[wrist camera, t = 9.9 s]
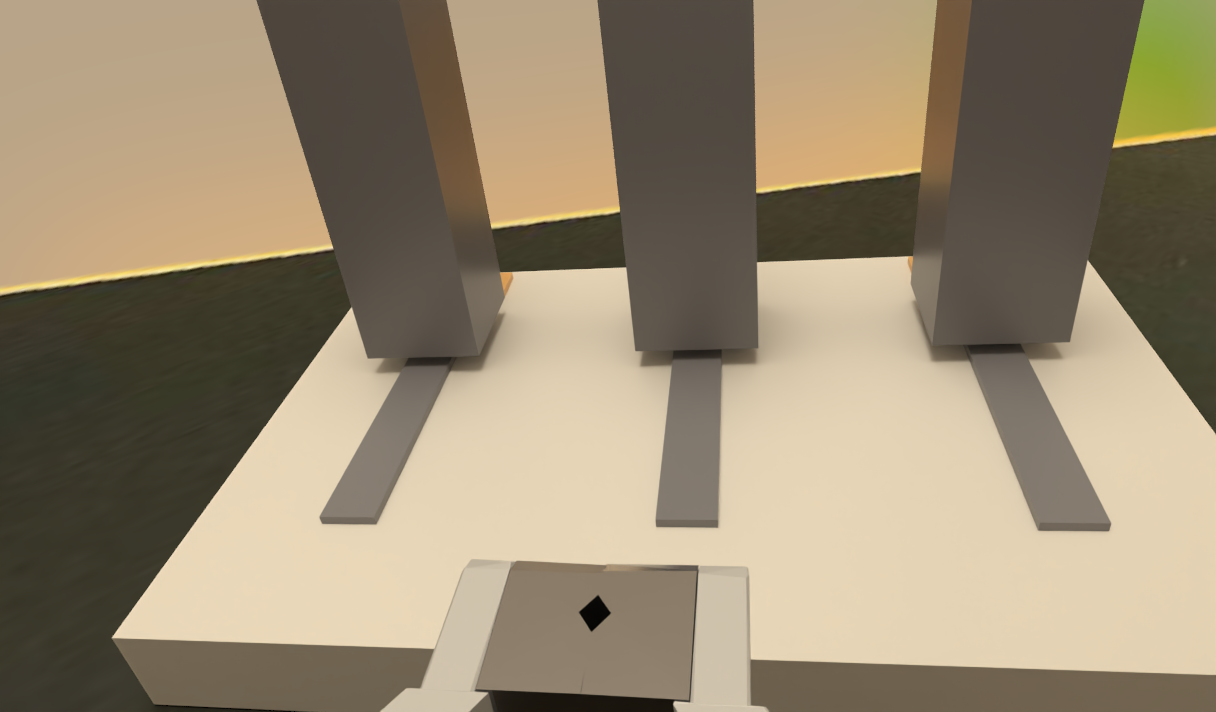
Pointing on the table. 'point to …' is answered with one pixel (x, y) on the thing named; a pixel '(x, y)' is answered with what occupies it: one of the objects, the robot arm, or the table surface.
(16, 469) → the table surface
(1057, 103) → the tall grey switch
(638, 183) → the grey rectangular pillar
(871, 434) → the switch bank
